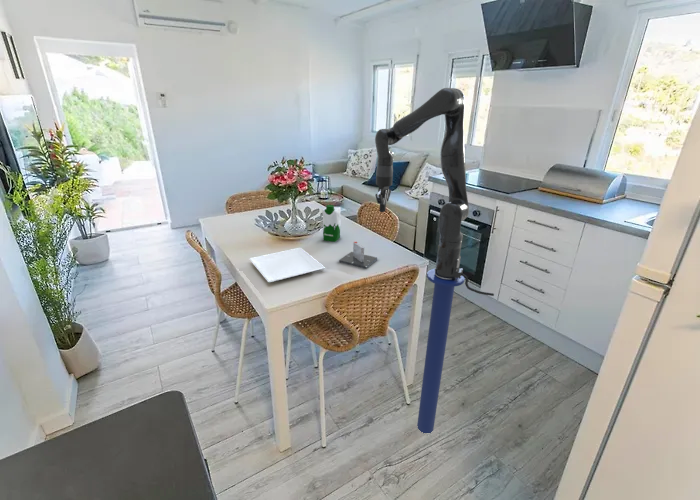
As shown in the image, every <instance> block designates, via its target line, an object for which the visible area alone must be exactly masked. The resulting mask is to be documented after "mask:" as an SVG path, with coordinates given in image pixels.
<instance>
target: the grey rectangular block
mask: <svg viewBox="0 0 700 500" xmlns="http://www.w3.org/2000/svg"><path fill="white" fill-rule="evenodd" d="M352 245H353V247H352V252H353V256H354V257H355V258H356V259H358V260H359V261H360V262H364V254H365V247H364V246H363V245H361V243H359V242H357V241H353V243H352Z"/></svg>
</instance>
